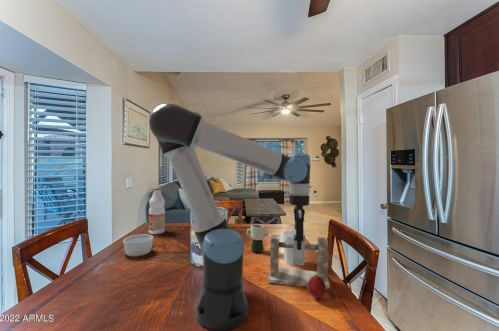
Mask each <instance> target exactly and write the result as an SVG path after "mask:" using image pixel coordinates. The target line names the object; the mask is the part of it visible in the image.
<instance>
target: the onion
mask: <svg viewBox="0 0 499 331" xmlns="http://www.w3.org/2000/svg"><path fill="white" fill-rule="evenodd" d="M307 290H308V292H309V293H310V294H311V295H312V296H313V297H314V299H319V298H321V297H323V296H324V295H325V293H326V290H327V289H326V285H325V283H324V281H323V280H322V278H320V277H319V276H318V275H317V274H315V276H314V277H312V278H311V279H310V280H309V282H308V287H307Z"/></svg>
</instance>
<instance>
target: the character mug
mask: <svg viewBox="0 0 499 331" xmlns="http://www.w3.org/2000/svg"><path fill="white" fill-rule="evenodd" d="M249 232H250V233H249ZM246 235H247V236H250V239H252V241H251V247H250V250H251V251H252V252H253V253H262V252H264V250H265V249H264V241H263V240H264V239H265V237H269V229H266V227H265V224H260V223H253V224H251V225H250V228H247V229H246Z"/></svg>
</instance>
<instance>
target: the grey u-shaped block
mask: <svg viewBox="0 0 499 331" xmlns="http://www.w3.org/2000/svg"><path fill="white" fill-rule="evenodd" d="M292 231H293V243H294V248H293V264H297V265H298V266H299V265H300V266H305V259H306V258H305V255H306V253H305V252H306V249H305V244H306V234H305V230H304V228H303V238H304V240H303V258H295V240H294V239H296V229H295V228H293V230H292ZM297 265H296V266H297Z"/></svg>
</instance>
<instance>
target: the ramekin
mask: <svg viewBox="0 0 499 331" xmlns="http://www.w3.org/2000/svg"><path fill="white" fill-rule="evenodd" d="M153 241H154V236H153V234H148V233H147V234H133V235H130V236H128V237H125V238H124V239H123V241H122V244H123V247H124V253H125V255H127V256H128V257H141V256H145V255H148V254H149V253H150V252H151V251H152V246H153Z"/></svg>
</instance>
